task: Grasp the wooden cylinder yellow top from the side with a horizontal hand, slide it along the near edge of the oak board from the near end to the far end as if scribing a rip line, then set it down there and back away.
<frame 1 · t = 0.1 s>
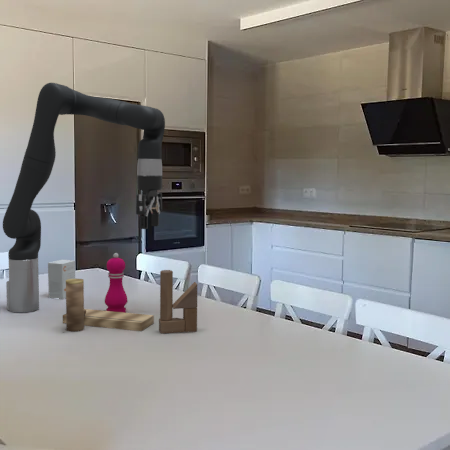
hand: (149, 227, 172), 29 cm above the table, tool pointing down, fingers open, 8 cm apart
wooden cylinder yellow top: (75, 329, 165), on the table
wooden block: (177, 331, 165), on the table
board: (108, 323, 172), on the table
small box: (62, 297, 207), on the table
pepper mill: (116, 314, 184), on the table
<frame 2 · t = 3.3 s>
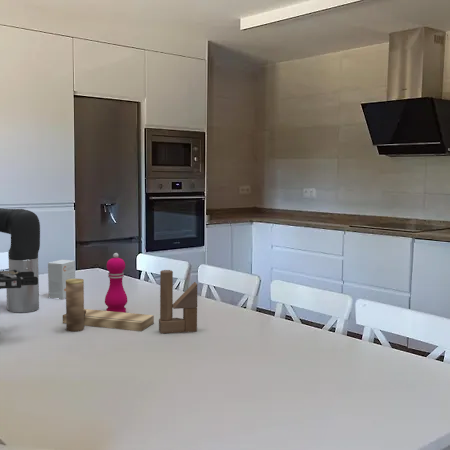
hand: (35, 277, 159), 16 cm above the table, tool horizontal, fingers open, 8 cm apart
nothing on the table moved.
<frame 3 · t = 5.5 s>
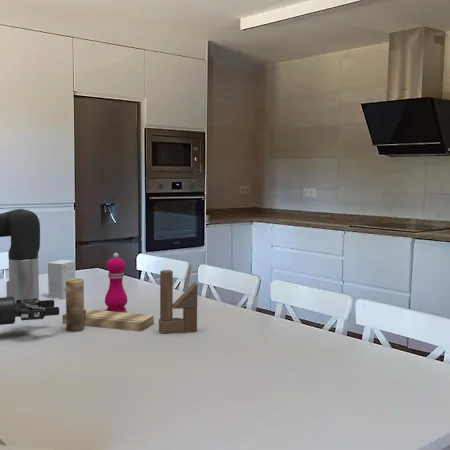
hand: (56, 307, 163), 7 cm above the table, tool horizontal, fingers open, 8 cm apart
nothing on the table moved.
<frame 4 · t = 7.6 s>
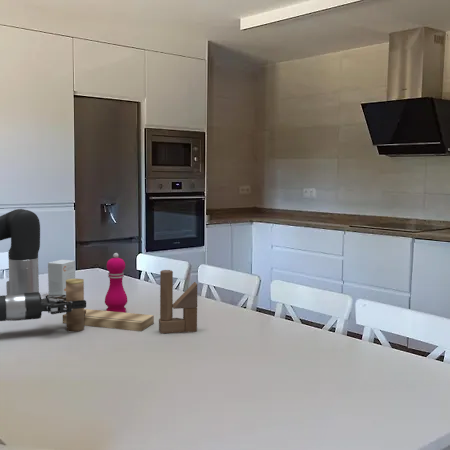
hand: (84, 301, 166), 8 cm above the table, tool horizontal, fingers closed on wooden cylinder yellow top, 5 cm apart
wooden cylinder yellow top: (75, 329, 165), on the table, touching gripper
everything else where it was.
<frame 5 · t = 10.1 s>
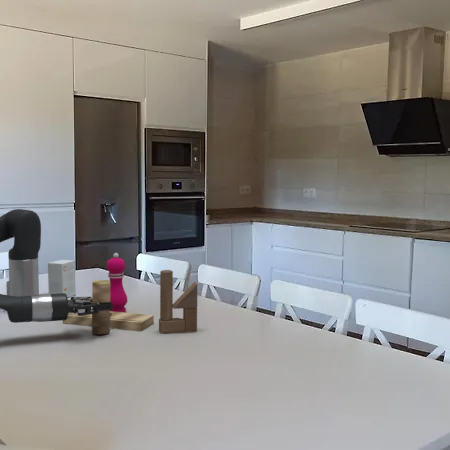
hand: (110, 303, 162), 8 cm above the table, tool horizontal, fingers closed on wooden cylinder yellow top, 5 cm apart
wooden cylinder yellow top: (100, 331, 162), on the table, touching gripper
everything else where it was.
when the fingers open (8 cm above the table, at t = 12.6 s): wooden cylinder yellow top stays where it is, on the table.
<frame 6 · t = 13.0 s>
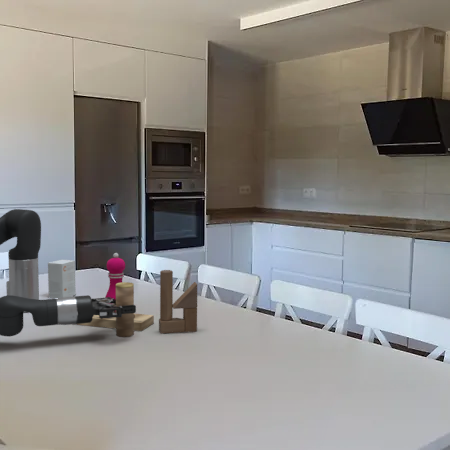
hand: (131, 305, 161), 8 cm above the table, tool horizontal, fingers open, 8 cm apart
wooden cylinder yellow top: (124, 334, 161), on the table
everything else where it was.
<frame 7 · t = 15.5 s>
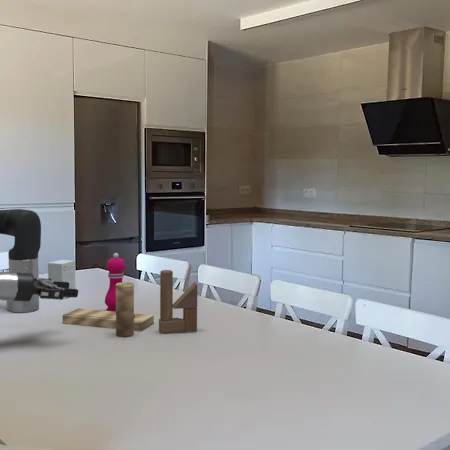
hand: (73, 289, 158), 13 cm above the table, tool horizontal, fingers open, 8 cm apart
nothing on the table moved.
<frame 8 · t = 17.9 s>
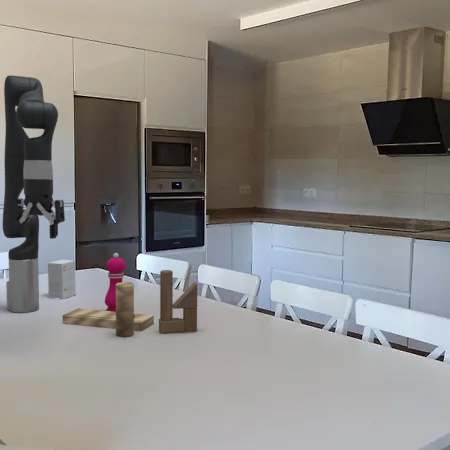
hand: (39, 237, 153), 28 cm above the table, tool pointing down, fingers open, 8 cm apart
nothing on the table moved.
at the end: wooden cylinder yellow top inside the target area (0.5 cm from its centre), on the table; wooden cylinder yellow top tilted 0°; the gripper is holding nothing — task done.
